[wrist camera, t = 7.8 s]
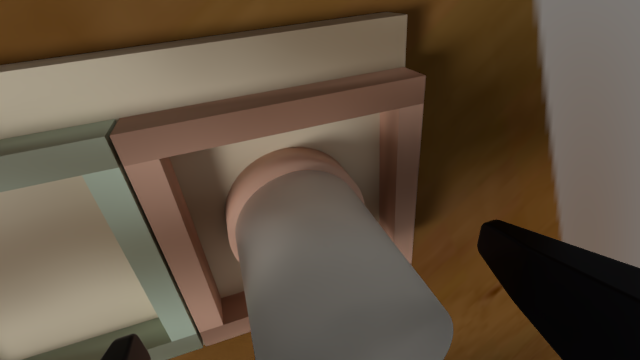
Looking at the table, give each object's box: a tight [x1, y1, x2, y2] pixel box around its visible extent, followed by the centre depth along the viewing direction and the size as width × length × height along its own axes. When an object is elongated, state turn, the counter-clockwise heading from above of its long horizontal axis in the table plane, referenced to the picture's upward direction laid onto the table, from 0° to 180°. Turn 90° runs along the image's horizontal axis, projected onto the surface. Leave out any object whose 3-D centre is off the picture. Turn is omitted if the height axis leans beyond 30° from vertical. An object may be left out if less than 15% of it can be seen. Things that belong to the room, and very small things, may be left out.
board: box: [0, 12, 426, 360], centre depth 11 cm, size 11×16×2 cm
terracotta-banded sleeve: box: [225, 147, 453, 360], centre depth 9 cm, size 4×4×6 cm
